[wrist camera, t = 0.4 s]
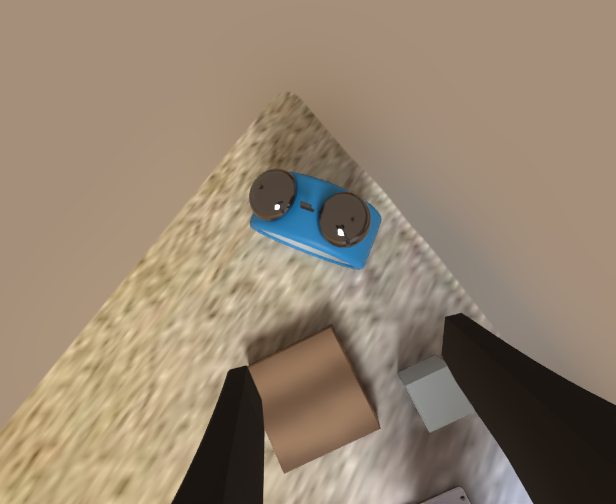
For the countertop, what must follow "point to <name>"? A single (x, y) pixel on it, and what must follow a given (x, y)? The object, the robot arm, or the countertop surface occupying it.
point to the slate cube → (435, 393)
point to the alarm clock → (314, 217)
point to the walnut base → (312, 399)
